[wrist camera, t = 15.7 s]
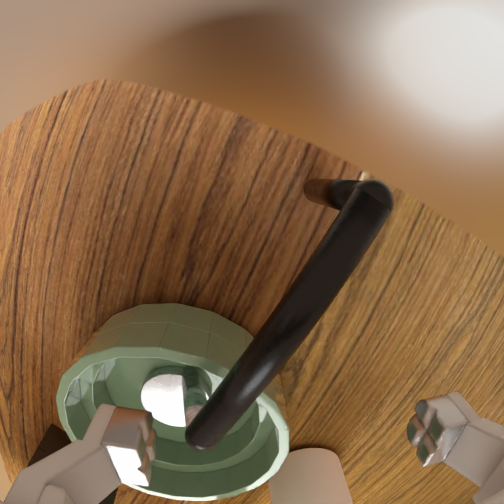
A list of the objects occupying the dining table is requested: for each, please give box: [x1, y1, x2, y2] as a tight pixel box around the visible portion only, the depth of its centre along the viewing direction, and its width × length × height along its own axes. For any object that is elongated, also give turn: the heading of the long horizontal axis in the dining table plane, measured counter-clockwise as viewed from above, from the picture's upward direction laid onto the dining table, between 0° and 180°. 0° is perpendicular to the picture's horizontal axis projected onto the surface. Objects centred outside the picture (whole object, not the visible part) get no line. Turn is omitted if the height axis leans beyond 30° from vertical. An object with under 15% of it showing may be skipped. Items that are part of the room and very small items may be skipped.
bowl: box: [56, 303, 290, 501], centre depth 23 cm, size 18×18×7 cm
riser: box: [26, 424, 118, 504], centre depth 27 cm, size 10×24×9 cm, turn 147°
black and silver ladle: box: [140, 179, 394, 451], centre depth 19 cm, size 24×6×11 cm, turn 147°
